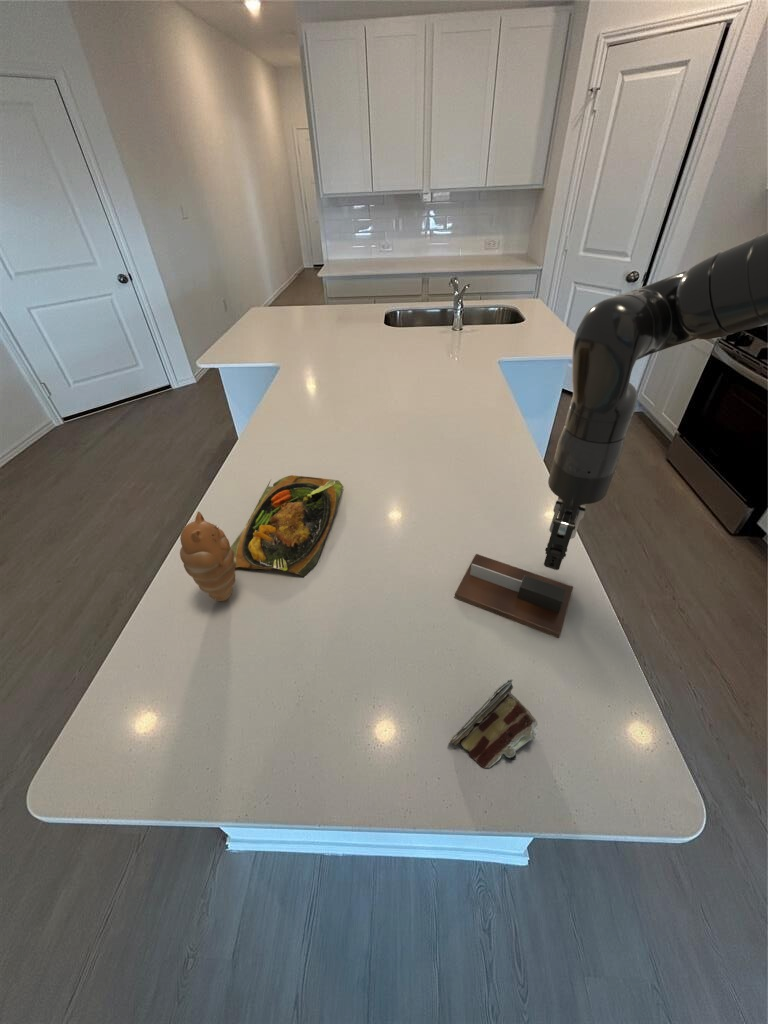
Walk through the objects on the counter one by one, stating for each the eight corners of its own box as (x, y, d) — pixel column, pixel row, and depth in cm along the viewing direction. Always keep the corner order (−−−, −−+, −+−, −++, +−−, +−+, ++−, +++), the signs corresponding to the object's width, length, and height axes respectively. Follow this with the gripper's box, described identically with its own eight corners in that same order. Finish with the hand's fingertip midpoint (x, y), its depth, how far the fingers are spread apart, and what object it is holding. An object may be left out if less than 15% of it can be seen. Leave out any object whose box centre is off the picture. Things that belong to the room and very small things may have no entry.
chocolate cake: (483, 795, 55) (553, 734, 52) (443, 746, 57) (508, 686, 55) (497, 762, 63) (557, 708, 61) (462, 721, 66) (519, 668, 63)
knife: (562, 600, 75) (566, 589, 73) (558, 613, 73) (562, 601, 71) (472, 568, 81) (474, 557, 79) (467, 580, 79) (469, 568, 77)
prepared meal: (310, 565, 79) (217, 553, 82) (312, 578, 82) (221, 567, 84) (346, 479, 101) (272, 472, 103) (347, 491, 103) (274, 484, 106)
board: (571, 590, 78) (573, 586, 77) (558, 638, 71) (560, 634, 70) (475, 557, 85) (475, 553, 84) (454, 597, 78) (454, 593, 77)
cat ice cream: (244, 612, 76) (216, 537, 65) (197, 619, 76) (161, 544, 64) (248, 575, 83) (223, 501, 71) (205, 580, 82) (173, 506, 71)
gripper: (608, 497, 51) (574, 589, 61) (622, 440, 60) (590, 528, 71) (542, 481, 54) (520, 571, 64) (566, 429, 63) (543, 514, 74)
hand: (557, 548), depth 67 cm, fingers open, 8 cm apart
